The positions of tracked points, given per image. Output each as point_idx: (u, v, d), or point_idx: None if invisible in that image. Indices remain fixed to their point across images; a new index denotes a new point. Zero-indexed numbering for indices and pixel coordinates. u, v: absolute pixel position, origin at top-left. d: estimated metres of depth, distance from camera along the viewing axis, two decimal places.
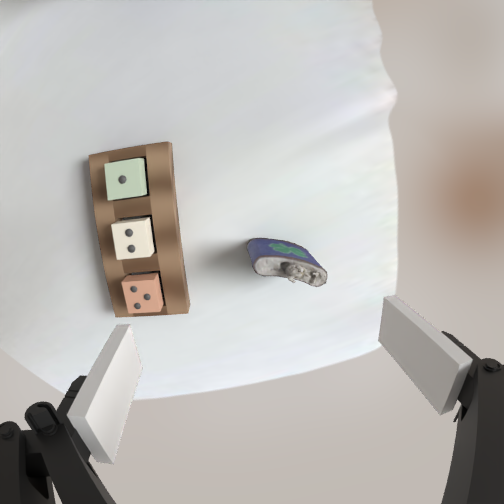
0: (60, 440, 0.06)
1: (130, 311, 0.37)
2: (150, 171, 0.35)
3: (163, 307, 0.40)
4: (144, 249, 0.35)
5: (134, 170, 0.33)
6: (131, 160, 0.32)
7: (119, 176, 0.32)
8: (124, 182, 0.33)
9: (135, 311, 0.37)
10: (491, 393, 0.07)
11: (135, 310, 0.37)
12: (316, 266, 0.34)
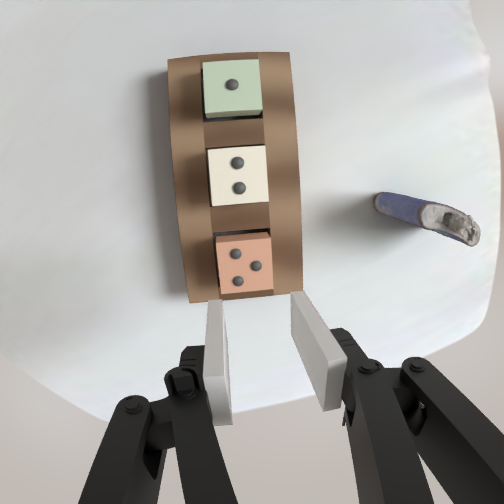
0: (196, 406, 0.08)
1: (224, 290, 0.26)
2: (264, 85, 0.24)
3: None
4: (260, 189, 0.24)
5: (251, 73, 0.21)
6: (247, 61, 0.21)
7: (227, 80, 0.21)
8: (235, 88, 0.21)
9: (233, 290, 0.26)
10: (376, 397, 0.08)
11: (234, 288, 0.26)
12: (473, 221, 0.23)
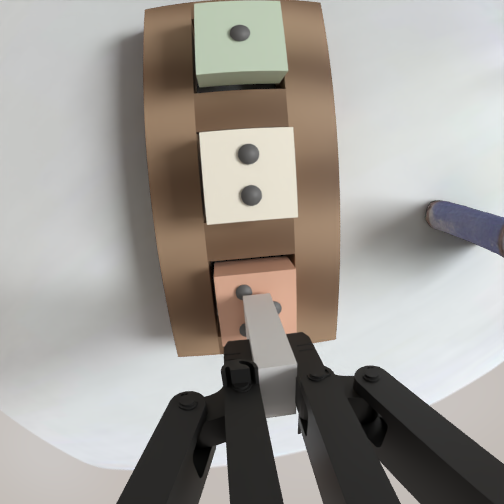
0: (250, 399, 0.09)
1: None
2: (287, 43, 0.14)
3: None
4: (285, 198, 0.15)
5: (269, 19, 0.12)
6: (263, 2, 0.12)
7: (233, 27, 0.12)
8: (245, 38, 0.12)
9: None
10: (329, 405, 0.08)
11: (241, 339, 0.17)
12: None
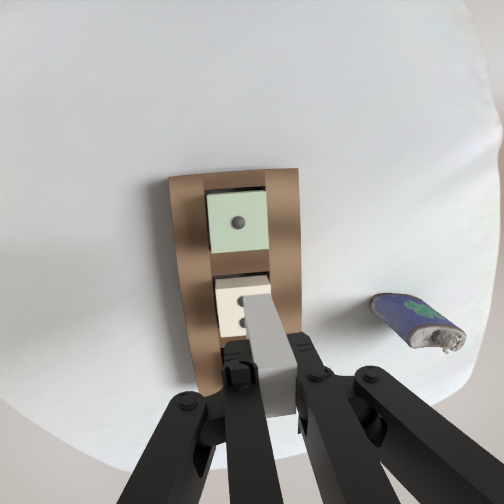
0: (250, 399, 0.09)
1: None
2: (271, 210, 0.26)
3: None
4: None
5: (258, 209, 0.23)
6: (254, 194, 0.23)
7: (234, 218, 0.23)
8: (242, 227, 0.23)
9: None
10: (329, 405, 0.08)
11: None
12: (460, 330, 0.25)
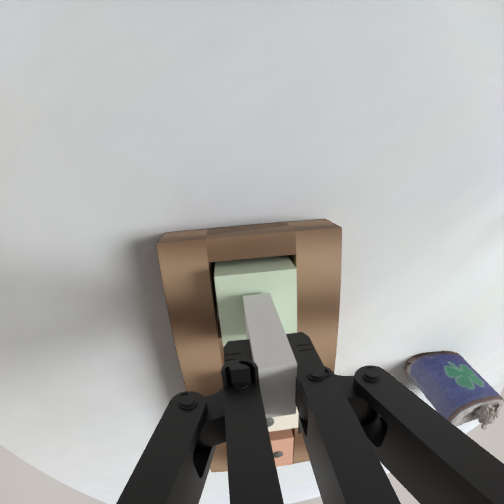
0: (250, 399, 0.09)
1: None
2: (302, 286, 0.18)
3: None
4: (290, 420, 0.19)
5: (285, 292, 0.17)
6: (280, 272, 0.16)
7: None
8: None
9: None
10: (328, 405, 0.08)
11: None
12: (499, 398, 0.18)
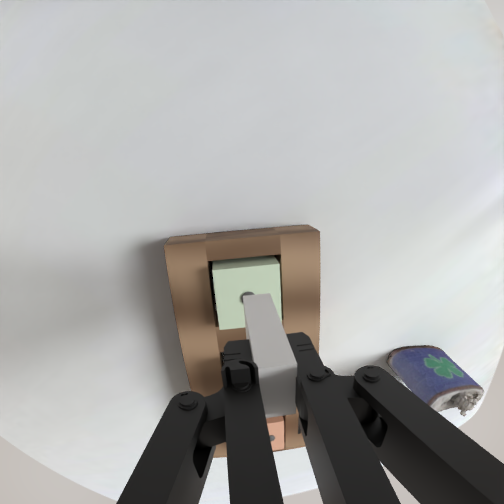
0: (250, 399, 0.09)
1: None
2: (287, 281, 0.22)
3: None
4: None
5: (270, 283, 0.21)
6: (266, 267, 0.20)
7: (243, 294, 0.20)
8: None
9: None
10: (329, 405, 0.08)
11: None
12: (478, 388, 0.21)
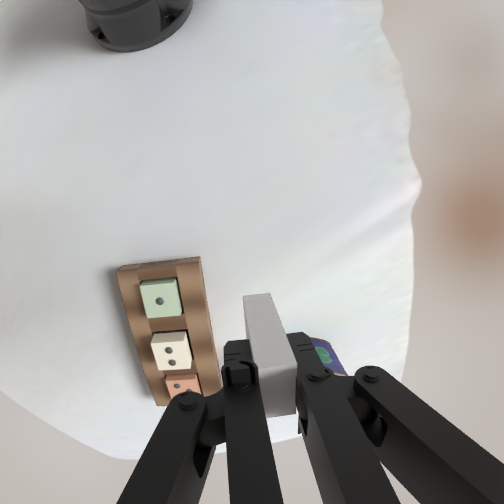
0: (250, 399, 0.09)
1: None
2: (183, 291, 0.37)
3: None
4: (184, 363, 0.37)
5: (170, 293, 0.36)
6: (167, 284, 0.36)
7: (156, 298, 0.36)
8: (162, 304, 0.36)
9: None
10: (328, 405, 0.08)
11: None
12: (339, 373, 0.37)
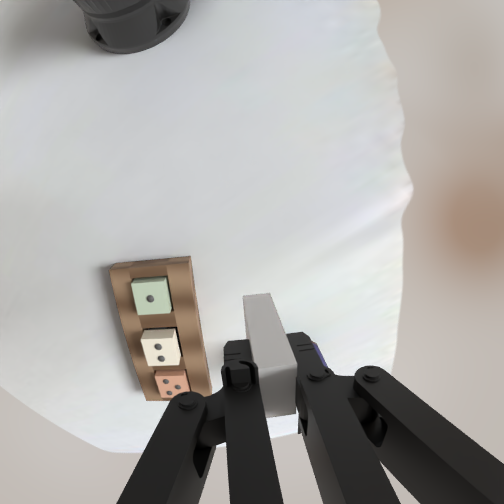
0: (250, 399, 0.09)
1: (163, 396, 0.42)
2: (173, 290, 0.38)
3: None
4: (173, 359, 0.38)
5: (160, 291, 0.37)
6: (157, 282, 0.37)
7: (147, 296, 0.37)
8: (152, 301, 0.37)
9: (167, 396, 0.42)
10: (329, 405, 0.08)
11: (168, 395, 0.42)
12: None
